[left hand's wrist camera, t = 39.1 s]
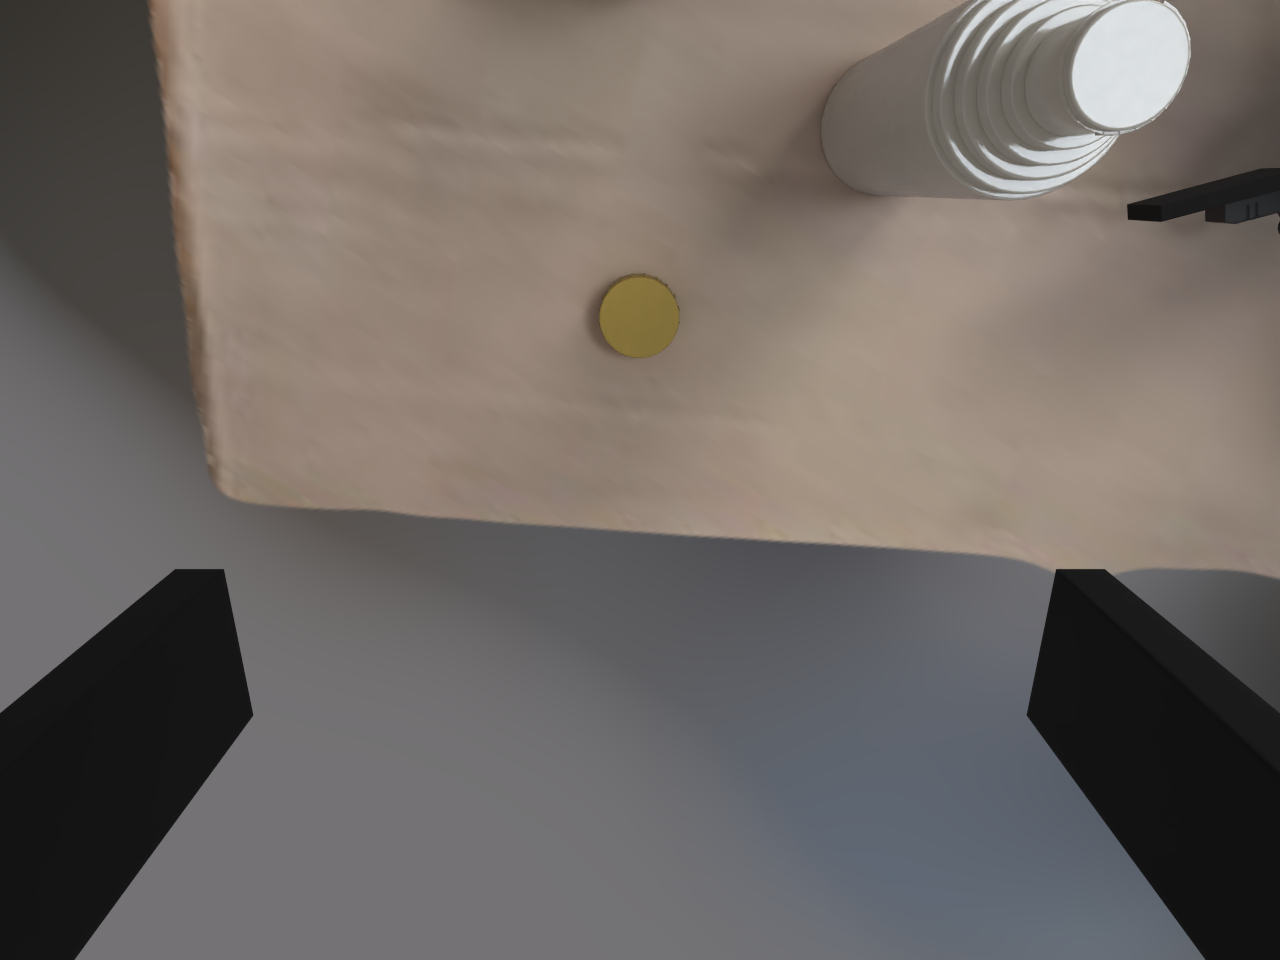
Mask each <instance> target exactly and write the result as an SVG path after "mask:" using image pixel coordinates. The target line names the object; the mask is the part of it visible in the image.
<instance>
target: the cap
mask: <svg viewBox="0 0 1280 960" xmlns="http://www.w3.org/2000/svg"><path fill="white" fill-rule="evenodd" d="M675 299H676V298H675V295H673V293H672V292H671V290H670V289H669V288H668V285H667V284H666V285H665V284H664V283H663V282H662V281H660V280H659V279H658V278H657V277H656V278H655V277H652V276H649V275H646V274H645V273H644V274H634V275H633V274H631V275H629V276H626V277H624V278H622V279H621V278H620V280H618V281H617V282H615V283H614V284H613V285H612V286H610V288H609V290H608V291H607V293H606V294H605V296H603V299H602V300H603V302H602V305H601V308H600V309H599V312H600V314H599V320H600V323H599V325H600V327H601V331H602V333H603V336H604V337H605V339H606V340H607V342H608V343H609V344H610V345H611V347H613V348H614V349H615V350H616V351H618V352H619V353H621V354H623V355H626V356H629V357H634V358H645V357H650V356H653V355H655V354H657V353H659V352H661V351H662V350H664V349H665V348H666V347H667V346H668V345H669V344H670V343H671V341H672V340H673V338H674V336H675V335H676V332H677V329H678V325H679V307H678V306H677V303H676V300H675Z"/></svg>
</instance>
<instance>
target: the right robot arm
mask: <svg viewBox="0 0 1280 960" xmlns="http://www.w3.org/2000/svg"><path fill="white" fill-rule="evenodd" d="M1127 210H1128V220H1141V221H1156V222H1162V221H1166V220H1170V219H1173V218H1177V217H1181V216H1185V215H1189V214H1192V213H1196V212H1200V211H1204V210H1205V221H1207V222H1215V223H1230V224H1237V223H1241V222H1244V221H1247V220H1252V219H1256V218H1260V217H1263V216H1267V215H1271V214H1275V213H1278V215H1279V216H1280V168H1265V169H1258V170H1254V171H1250V172H1247V173H1243V174H1239V175H1235V176H1232V177H1228V178H1224V179H1220V180H1217V181H1213V182H1209V183H1206V184H1202V185H1198V186H1194V187H1191V188H1187V189H1183V190H1179V191H1176V192H1172V193H1168V194H1164V195H1161V196H1157V197H1153V198H1149V199H1146V200H1142V201H1138V202H1135V203H1131V204H1127ZM1278 231H1279V234H1280V222H1279V224H1278Z"/></svg>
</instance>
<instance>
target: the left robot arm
mask: <svg viewBox="0 0 1280 960" xmlns="http://www.w3.org/2000/svg"><path fill="white" fill-rule="evenodd" d="M252 716H253V711H252V707H251V702H250V697H249V692H248V687H247V682H246V677H245V672H244V667H243V662H242V657H241V652H240V647H239V642H238V637H237V632H236V627H235V622H234V617H233V612H232V607H231V603H230V597H229V593H228V588H227V583H226V578H225V573H224V569H175V570H174V571H172V572H171V573H170V574H169V575H168V576H166V577H165V578H164V579H163V580H162V581H160V582H159V583H158V584H157V585H155V586H154V587H153V588H152V589H151V590H149V591H148V592H147V593H146V594H145V595H143V596H142V597H141V598H140V599H138V600H137V601H136V602H135V603H134V604H132V605H131V606H130V607H129V608H128V609H126V610H125V611H124V612H123V613H122V614H120V615H119V616H118V617H117V618H115V619H114V620H113V621H112V622H110V623H109V624H108V625H107V626H106V627H104V628H103V629H102V630H101V631H100V632H98V633H97V634H96V635H95V636H94V637H92V638H91V639H90V640H89V641H87V642H86V643H85V644H84V645H83V646H81V647H80V648H79V649H78V650H76V651H75V652H74V653H73V654H72V655H70V656H69V657H68V658H67V659H66V660H64V661H63V662H62V663H61V664H59V665H58V666H57V667H56V668H55V669H53V670H52V671H51V672H50V673H49V674H47V675H46V676H45V677H44V678H42V679H41V680H40V681H39V682H38V683H36V684H35V685H34V686H33V687H32V688H30V689H29V690H28V691H27V692H25V693H24V694H23V695H22V696H21V697H19V698H18V699H17V700H16V701H14V702H13V703H12V704H11V705H10V706H8V707H7V708H6V709H5V710H4V711H2V712H1V713H0V960H75V958H76V957H77V956H78V954H79V953H80V951H81V950H82V949H83V947H84V946H85V945H86V943H87V942H88V940H89V939H90V938H91V936H92V935H93V934H94V932H95V931H96V930H97V928H98V927H99V925H100V924H101V923H102V921H103V920H104V919H105V917H106V916H107V915H108V913H109V912H110V910H111V909H112V908H113V906H114V905H115V904H116V902H117V901H118V900H119V898H120V897H121V895H122V894H123V893H124V891H125V890H126V889H127V887H128V886H129V884H130V883H131V882H132V880H133V879H134V878H135V876H136V875H137V873H138V872H139V871H140V869H141V868H142V867H143V865H144V864H145V863H146V861H147V860H148V858H149V857H150V856H151V854H152V853H153V852H154V850H155V849H156V847H157V846H158V845H159V843H160V842H161V841H162V839H163V838H164V837H165V835H166V834H167V833H168V831H169V830H170V828H171V827H172V826H173V824H174V823H175V822H176V820H177V819H178V818H179V816H180V815H181V813H182V812H183V811H184V809H185V808H186V807H187V805H188V804H189V802H190V801H191V800H192V798H193V797H194V796H195V794H196V793H197V792H198V790H199V789H200V787H201V786H202V785H203V783H204V782H205V781H206V779H207V778H208V777H209V775H210V774H211V772H212V771H213V770H214V768H215V767H216V766H217V764H218V763H219V761H220V760H221V759H222V757H223V756H224V755H225V753H226V752H227V751H228V749H229V748H230V746H231V745H232V744H233V742H234V741H235V740H236V738H237V737H238V736H239V734H240V733H241V731H242V730H243V729H244V727H245V726H246V724H247V723H248V722H249V720H250V719H251V718H252ZM1027 716H1028V718H1029V719H1030V720H1031V722H1032V723H1033V725H1034V726H1035V727H1036V729H1037V730H1038V731H1039V733H1040V734H1041V736H1042V737H1043V738H1044V740H1045V741H1046V742H1047V744H1048V745H1049V746H1050V748H1051V749H1052V751H1053V752H1054V753H1055V755H1056V756H1057V757H1058V759H1059V760H1060V761H1061V763H1062V764H1063V766H1064V767H1065V768H1066V770H1067V771H1068V772H1069V774H1070V775H1071V776H1072V778H1073V779H1074V781H1075V782H1076V783H1077V785H1078V786H1079V787H1080V789H1081V790H1082V791H1083V793H1084V794H1085V796H1086V797H1087V798H1088V800H1089V801H1090V802H1091V804H1092V805H1093V807H1094V808H1095V809H1096V811H1097V812H1098V813H1099V815H1100V816H1101V818H1102V819H1103V820H1104V822H1105V823H1106V824H1107V826H1108V827H1109V828H1110V830H1111V831H1112V832H1113V834H1114V835H1115V837H1116V838H1117V839H1118V841H1119V842H1120V843H1121V845H1122V846H1123V848H1124V849H1125V850H1126V852H1127V853H1128V854H1129V856H1130V857H1131V859H1132V860H1133V861H1134V863H1135V864H1136V865H1137V867H1138V868H1139V869H1140V871H1141V872H1142V874H1143V875H1144V876H1145V878H1146V879H1147V880H1148V882H1149V883H1150V884H1151V886H1152V887H1153V889H1154V890H1155V891H1156V893H1157V894H1158V895H1159V897H1160V898H1161V899H1162V901H1163V902H1164V904H1165V905H1166V906H1167V908H1168V909H1169V910H1170V912H1171V913H1172V915H1173V916H1174V917H1175V919H1176V920H1177V921H1178V923H1179V924H1180V925H1181V927H1182V928H1183V930H1184V931H1185V932H1186V934H1187V935H1188V936H1189V938H1190V939H1191V941H1192V942H1193V943H1194V945H1195V946H1196V947H1197V949H1198V950H1199V951H1200V953H1201V954H1202V956H1203V957H1204V958H1205V960H1280V713H1279V712H1278V711H1276V710H1275V709H1274V708H1273V707H1272V706H1270V705H1269V704H1268V703H1267V702H1265V701H1264V700H1263V699H1262V698H1261V697H1259V696H1258V695H1257V694H1256V693H1255V692H1253V691H1252V690H1251V689H1250V688H1248V687H1247V686H1246V685H1245V684H1244V683H1242V682H1241V681H1240V680H1239V679H1238V678H1236V677H1235V676H1234V675H1233V674H1231V673H1230V672H1229V671H1228V670H1227V669H1225V668H1224V667H1223V666H1222V665H1221V664H1219V663H1218V662H1217V661H1216V660H1214V659H1213V658H1212V657H1211V656H1210V655H1208V654H1207V653H1206V652H1205V651H1204V650H1202V649H1201V648H1200V647H1199V646H1197V645H1196V644H1195V643H1194V642H1192V641H1191V640H1190V639H1189V638H1188V637H1187V636H1185V635H1184V634H1183V633H1182V632H1180V631H1179V630H1178V629H1177V628H1176V627H1174V626H1173V625H1172V624H1171V623H1170V622H1168V621H1167V620H1166V619H1165V618H1163V617H1162V616H1161V615H1160V614H1159V613H1157V612H1156V611H1155V610H1154V609H1152V608H1151V607H1150V606H1149V605H1148V604H1146V603H1145V602H1144V601H1143V600H1142V599H1140V598H1139V597H1138V596H1137V595H1135V594H1134V593H1133V592H1132V591H1131V590H1129V589H1128V588H1127V587H1126V586H1125V585H1123V584H1122V583H1121V582H1120V581H1118V580H1117V579H1116V578H1115V577H1114V576H1112V575H1111V574H1110V573H1109V572H1108V571H1106V570H1105V569H1056V573H1055V578H1054V583H1053V588H1052V593H1051V597H1050V602H1049V608H1048V612H1047V617H1046V622H1045V627H1044V632H1043V637H1042V642H1041V647H1040V652H1039V657H1038V662H1037V667H1036V672H1035V677H1034V682H1033V687H1032V692H1031V697H1030V702H1029V706H1028V711H1027Z"/></svg>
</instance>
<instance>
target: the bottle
mask: <svg viewBox="0 0 1280 960" xmlns="http://www.w3.org/2000/svg"><path fill="white" fill-rule="evenodd" d="M1190 40H1191V39H1190V35H1189V32H1188V29H1187V26H1186V22H1185V21H1184V19H1183V18H1182V16H1181V15H1180V13H1179V12H1178V9H1176V8H1175V7H1173V6H1172V5H1171V4H1169V3H1168V2H1167V1H1165V0H1164V1H1162V3H1161V2H1159V1H1156V0H968V1H966V2H965V3H963V4H961V5H959V6H958V7H956V8H954V9H952V10H951V11H949V12H947V13H945V14H943V15H942V16H940V17H938V18H936V19H935V20H933V21H931V22H929V23H928V24H926V25H924V26H922V27H921V28H919V29H917V30H915V31H914V32H912V33H910V34H908V35H906V36H905V37H903V38H901V39H899V40H898V41H896V42H894V43H892V44H891V45H889V46H887V47H885V48H884V49H882V50H880V51H878V52H877V53H875V54H873V55H871V56H869V57H868V58H866V59H864V60H862V61H861V62H859V63H858V64H856V65H855V66H853V67H852V68H851V69H850V70H849V71H847V72H846V73H845V74H844V75H843V77H842V78H841V79H840V80H839V81H838V83H837V84H836V85H835V87H834V88H833V90H832V92H831V94H830V96H829V98H828V100H827V103H826V105H825V108H824V112H823V116H822V123H821V139H822V146H823V150H824V154H825V157H826V159H827V162H828V163H829V165H830V167H831V169H832V170H833V172H834V173H835V174H836V176H837V177H838V178H839V179H840V180H841V181H842V182H844V183H845V184H846V185H847V186H849V187H851V188H852V189H854V190H856V191H859V192H861V193H865V194H869V195H878V196H903V197H930V198H957V199H984V200H1025V199H1030V198H1035V197H1039V196H1042V195H1045V194H1048V193H1050V192H1052V191H1055V190H1057V189H1059V188H1061V187H1063V186H1064V185H1066V184H1068V183H1069V182H1071V181H1073V180H1074V179H1076V178H1077V177H1079V176H1081V175H1082V174H1084V173H1085V172H1086V171H1088V170H1089V169H1090V168H1091V167H1093V166H1094V165H1095V164H1096V163H1097V162H1098V161H1099V160H1100V159H1101V158H1102V157H1103V156H1104V155H1105V154H1106V153H1107V152H1108V151H1109V149H1110V148H1111V147H1112V146H1113V144H1114V143H1115V142H1116V140H1117V139H1118V137H1119V136H1120V134H1124V133H1128V132H1131V131H1135V130H1138V129H1139V128H1141V127H1143V126H1145V125H1146V124H1148V123H1150V122H1152V121H1153V120H1154V119H1156V118H1157V117H1158V116H1159V115H1160V114H1161V113H1162V112H1163V111H1164V110H1166V109H1167V108H1168V106H1169V105H1170V104H1171V102H1172V101H1173V99H1174V98H1175V97H1176V95H1177V94H1178V93H1179V91H1180V89H1181V86H1182V84H1183V82H1184V79H1185V77H1186V76H1187V72H1188V67H1189V62H1190V58H1191V47H1190Z"/></svg>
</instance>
